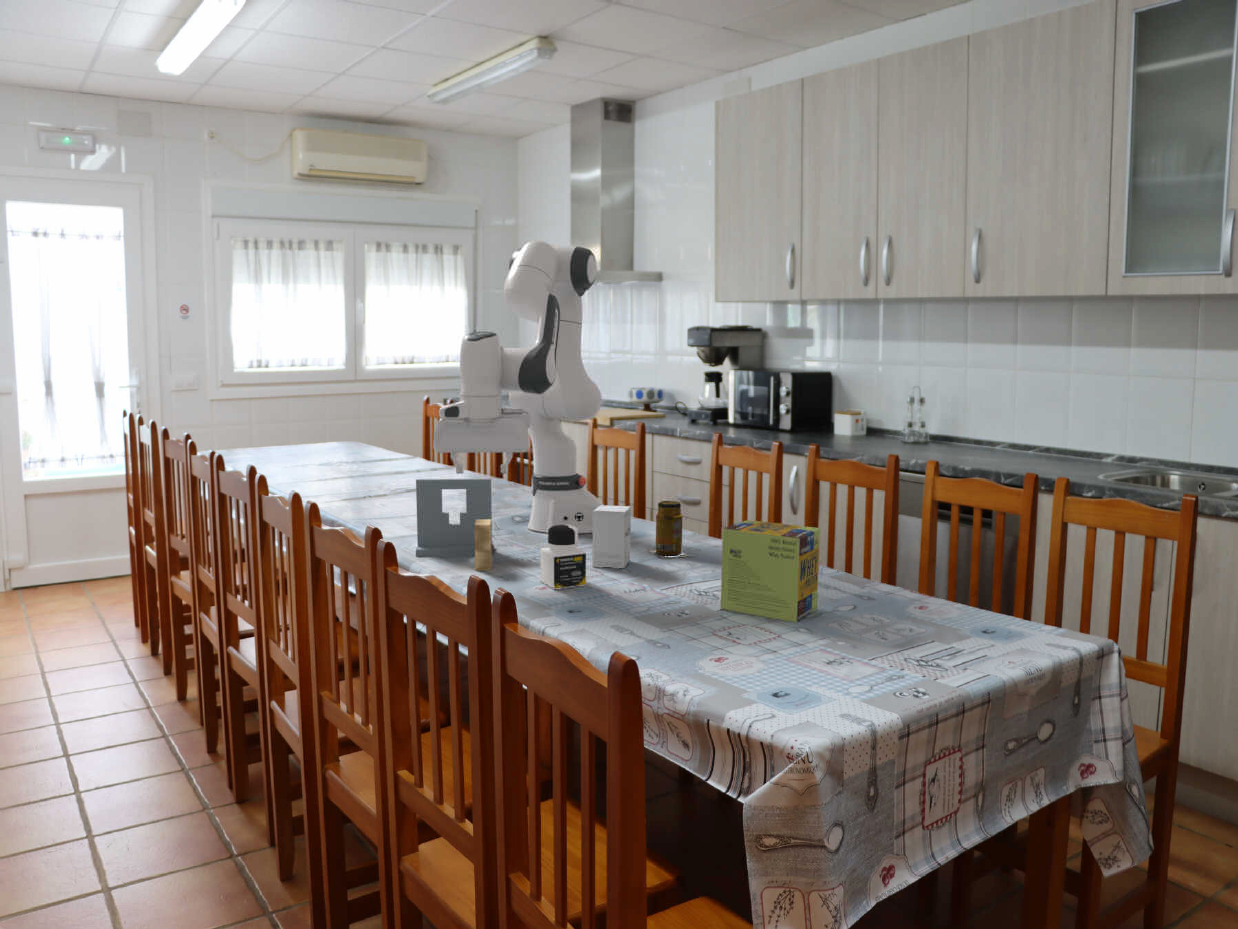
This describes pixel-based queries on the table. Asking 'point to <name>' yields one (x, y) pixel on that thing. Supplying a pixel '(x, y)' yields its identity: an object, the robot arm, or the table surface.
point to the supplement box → (611, 536)
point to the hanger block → (483, 545)
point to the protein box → (770, 569)
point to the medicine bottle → (563, 558)
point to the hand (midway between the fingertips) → (482, 473)
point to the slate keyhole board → (434, 523)
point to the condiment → (668, 530)
